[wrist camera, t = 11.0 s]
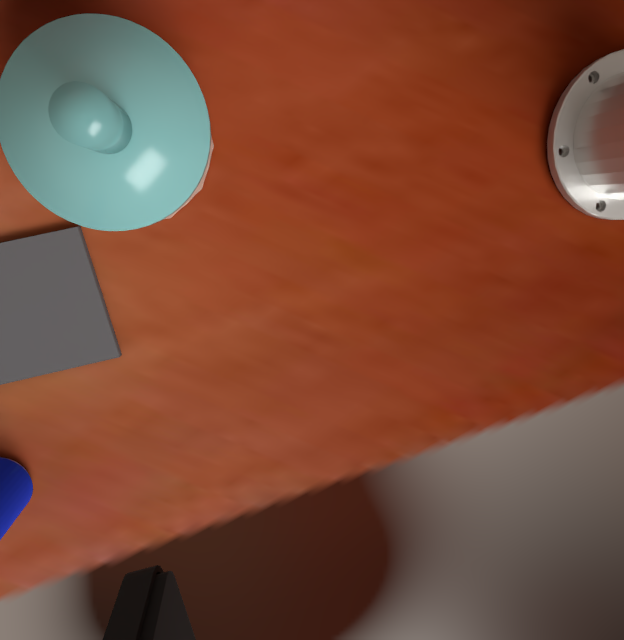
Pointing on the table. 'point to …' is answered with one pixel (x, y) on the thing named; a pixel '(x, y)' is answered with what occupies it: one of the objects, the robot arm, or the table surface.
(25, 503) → the beverage can
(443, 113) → the table surface
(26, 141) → the lid
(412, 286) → the table surface
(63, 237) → the mat
